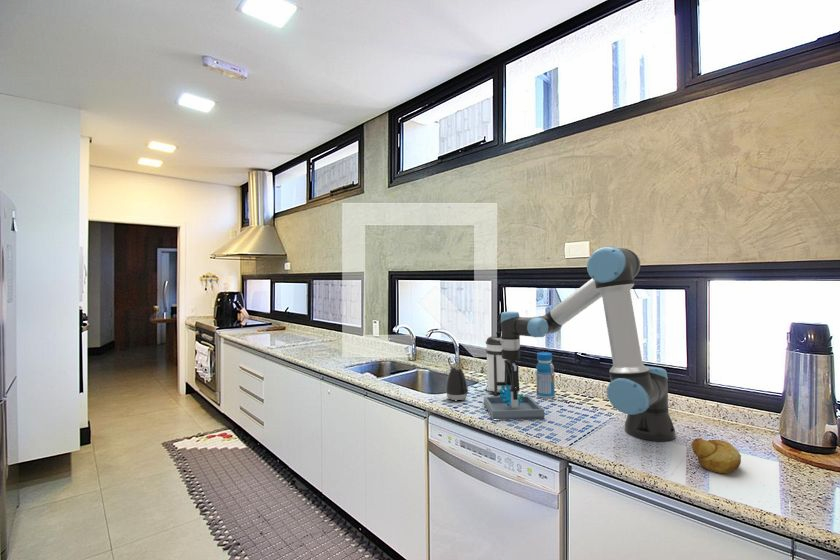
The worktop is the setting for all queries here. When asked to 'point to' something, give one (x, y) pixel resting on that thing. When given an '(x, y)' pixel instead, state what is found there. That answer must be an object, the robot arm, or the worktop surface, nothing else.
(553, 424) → the worktop surface
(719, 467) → the bread roll
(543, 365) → the beverage bottle
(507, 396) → the gear
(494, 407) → the tray
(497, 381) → the coffee press
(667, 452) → the worktop surface
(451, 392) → the pump dispenser
